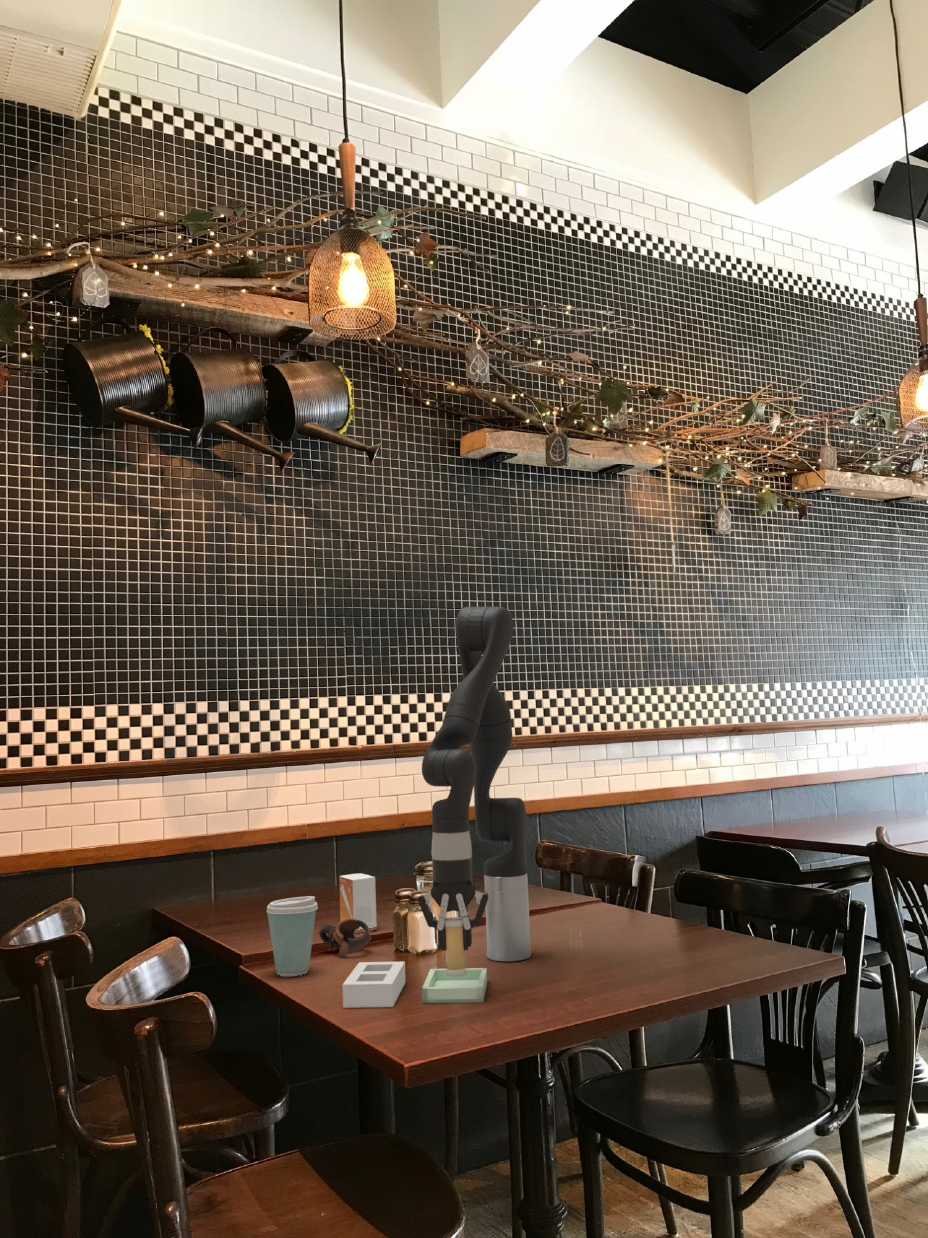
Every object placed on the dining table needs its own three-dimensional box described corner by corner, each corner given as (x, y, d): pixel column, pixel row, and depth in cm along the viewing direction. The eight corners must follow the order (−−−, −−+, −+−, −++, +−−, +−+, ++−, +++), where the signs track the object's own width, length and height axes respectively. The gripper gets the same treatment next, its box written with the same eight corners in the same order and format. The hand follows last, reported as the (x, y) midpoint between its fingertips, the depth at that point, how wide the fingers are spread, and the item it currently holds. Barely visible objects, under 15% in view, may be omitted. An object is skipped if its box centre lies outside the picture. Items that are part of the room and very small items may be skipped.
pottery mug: (373, 948, 223) (377, 920, 220) (361, 977, 214) (365, 948, 211) (322, 935, 224) (326, 907, 221) (308, 964, 216) (312, 934, 212)
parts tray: (431, 982, 190) (430, 969, 191) (487, 981, 190) (487, 968, 190) (422, 1003, 176) (421, 989, 177) (483, 1002, 176) (482, 988, 176)
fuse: (446, 972, 185) (445, 917, 186) (467, 971, 185) (465, 917, 186) (445, 977, 181) (443, 921, 182) (465, 976, 181) (463, 921, 182)
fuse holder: (359, 983, 191) (359, 962, 192) (405, 982, 191) (404, 961, 191) (343, 1008, 176) (342, 984, 176) (392, 1007, 175) (392, 984, 175)
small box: (339, 929, 243) (338, 875, 244) (363, 926, 246) (361, 872, 247) (353, 935, 236) (352, 879, 237) (377, 931, 239) (376, 876, 240)
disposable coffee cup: (259, 980, 197) (258, 903, 198) (276, 966, 208) (275, 894, 209) (310, 980, 196) (309, 903, 197) (325, 966, 206) (323, 893, 208)
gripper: (490, 852, 189) (493, 944, 187) (417, 854, 190) (420, 946, 188) (488, 857, 181) (492, 953, 179) (412, 859, 182) (415, 955, 180)
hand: (455, 949), depth 184 cm, fingers closed on fuse, 3 cm apart
